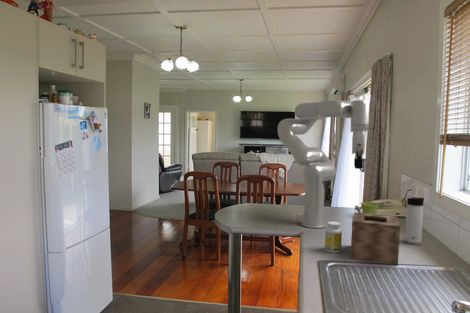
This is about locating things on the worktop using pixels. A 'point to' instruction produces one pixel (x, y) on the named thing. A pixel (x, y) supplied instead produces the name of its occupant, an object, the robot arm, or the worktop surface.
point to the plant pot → (369, 207)
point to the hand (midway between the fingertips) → (358, 167)
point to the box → (375, 238)
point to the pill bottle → (333, 237)
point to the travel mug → (414, 221)
